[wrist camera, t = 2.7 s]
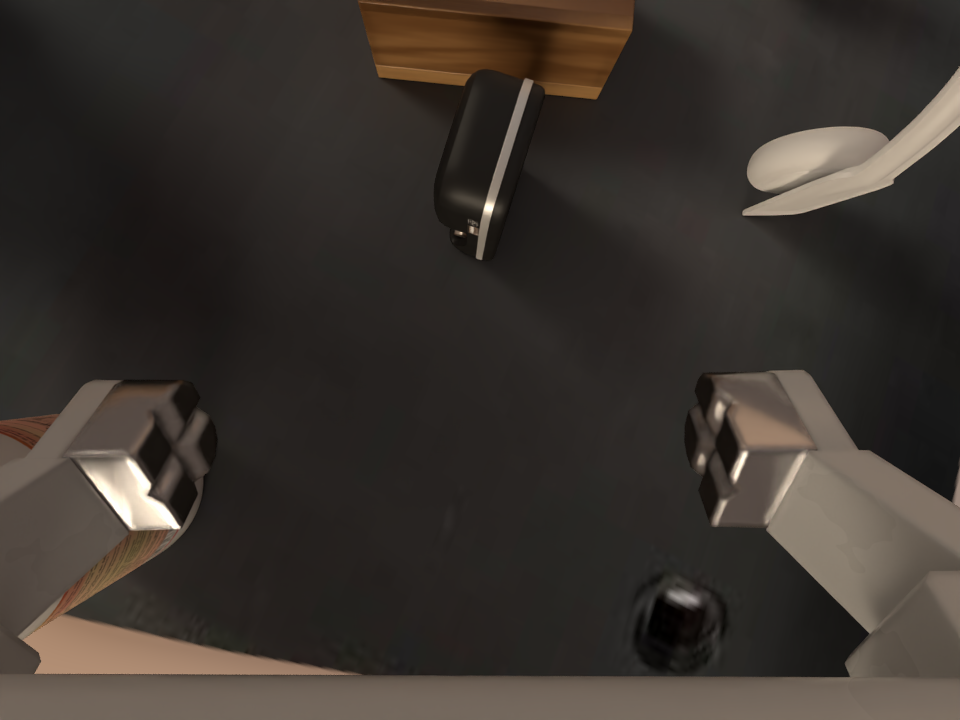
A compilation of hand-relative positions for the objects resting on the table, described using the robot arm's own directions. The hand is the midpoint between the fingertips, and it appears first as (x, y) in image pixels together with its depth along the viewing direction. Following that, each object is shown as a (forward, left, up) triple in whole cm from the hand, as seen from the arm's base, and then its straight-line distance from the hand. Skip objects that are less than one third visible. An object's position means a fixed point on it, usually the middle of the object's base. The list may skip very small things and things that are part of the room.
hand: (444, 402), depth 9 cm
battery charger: (-3, +11, -27) cm, 29 cm away
